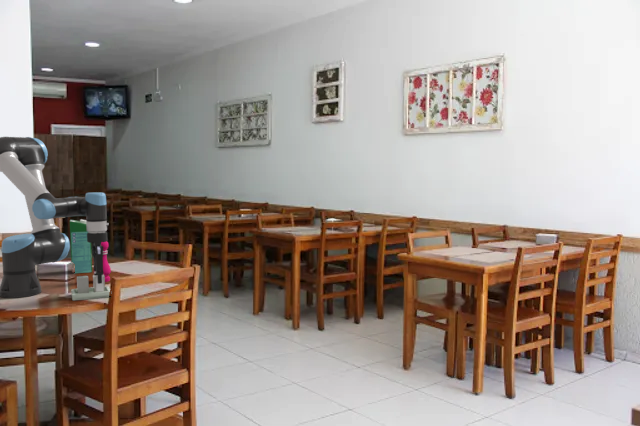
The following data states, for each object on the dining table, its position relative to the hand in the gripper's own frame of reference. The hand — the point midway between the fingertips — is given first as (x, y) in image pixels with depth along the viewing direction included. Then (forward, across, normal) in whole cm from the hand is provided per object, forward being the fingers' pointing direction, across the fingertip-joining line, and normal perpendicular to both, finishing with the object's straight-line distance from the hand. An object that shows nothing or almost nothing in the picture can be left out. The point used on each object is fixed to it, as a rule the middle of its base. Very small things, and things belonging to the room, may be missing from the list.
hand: (99, 289), depth 235 cm
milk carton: (+3, +58, +4) cm, 58 cm away
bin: (+2, 0, +3) cm, 4 cm away
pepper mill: (+3, +29, -4) cm, 29 cm away
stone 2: (+2, 0, 0) cm, 2 cm away
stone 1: (+2, 0, +6) cm, 6 cm away
